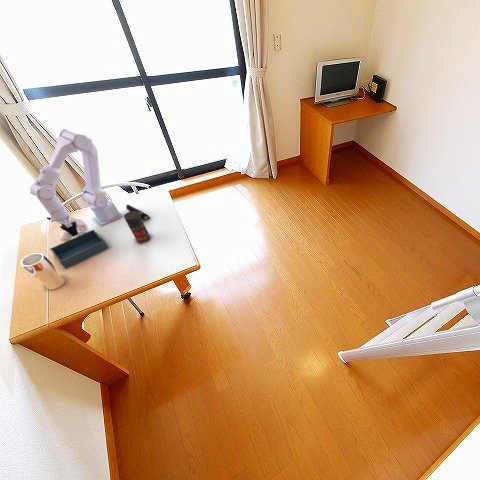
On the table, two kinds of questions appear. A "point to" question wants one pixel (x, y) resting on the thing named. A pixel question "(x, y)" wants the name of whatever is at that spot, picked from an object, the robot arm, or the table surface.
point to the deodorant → (137, 226)
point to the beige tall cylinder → (42, 270)
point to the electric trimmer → (142, 214)
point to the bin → (79, 248)
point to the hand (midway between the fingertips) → (72, 231)
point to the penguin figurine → (79, 227)
